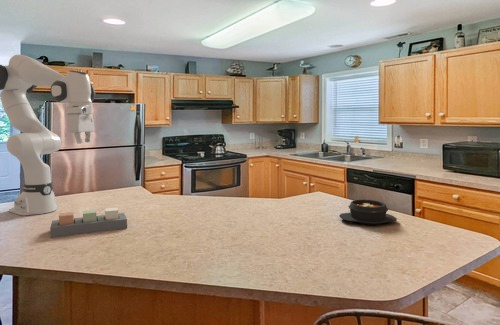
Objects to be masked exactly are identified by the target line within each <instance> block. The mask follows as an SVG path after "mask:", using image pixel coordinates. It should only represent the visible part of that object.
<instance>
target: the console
mask: <svg viewBox="0 0 500 325" xmlns="http://www.w3.org/2000/svg"><path fill="white" fill-rule="evenodd" d="M118 215H119V219H110V220H105V214H100V215H96V217H97V221H93V222H84V223H83V216H82V217H74V224H66V225H59V219H53V220H51V225H50V227H49V231H50V239H55V238H63V237H64V238H65V237H69V236H70V237H71V236H78V235H80V236H81V235H86V234H94V233H101V232H109V231H110V232H111V231H119V230H125V229H128V219H127V216H126V214H125V212H120V213H119V212H118Z"/></svg>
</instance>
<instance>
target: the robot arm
mask: <svg viewBox="0 0 500 325" xmlns="http://www.w3.org/2000/svg"><path fill="white" fill-rule="evenodd" d="M90 80H91V79H90V77H89V74H88V73H87V72H84V71H77V70H68V71H67V72H66V75H65V74H64V73H63V74H62V73H61V72H58V71H57V70H55V69H53V68H51V67H50V66H47V65H46V64H43V63H42V62H41V61H38V60H37V59H35V58H33V57H30V56H28V55H25V54H19V53H18V54H14V55H13V56H11V57H10V59H9V61H8V64H7V65H2V64H0V101H1V105H2V108H3V110H4V112H5V115H6V116H7V118H8V121H9V122H10V124H11V126H12V127H13V128H14V129H15V130H17V131H20V132H21V133H16V134H14V135H10V136H9V137H8V139H7V140H6V149H7V151H8V152H9V154H11V155H12V156H14V157H15V158H16V159H17V160H18V161H19V162H20V164H21V167H22V169H23V175H24V184H22V185H21V186H22V188H23V189H22V192H21V193H20V194H19V195H18V196H17V197H16V198H15V199H14V204H13V205H14V206H13V207H11V208H9V209H8V212H10V213H13V214H15V215H19V216H29V215H31V216H33V215H34V216H35V215H42V214H47V213H51V212H55V211H57V210H58V208H59V205H58V204H57V201H56V196H55V192H54V191H53V189H54V188H53V185H54V184H53V182H52V177H51V176H52V175H51V174H52V173H51V167H50V165H49V164H47V163H46V162H43V160H42V158H41V155H49V154H53V153H56V152H58V151H60V149H61V146H62V139H61V138H60V136H59V135H58V134H56V133H54V132H53V131H51V130H50V129H48V128H47V127H46V126H45V125H44V124H43V123H42V122H41V121H40V120H39V119H38V117H37V114H36V113H35V112H34V110H33V108H32V106H31V104H30V102H29V99H28V98H27V95H26V94H27V93H32V92H33V90H35V89H36V88H37V87H49V88H50V95H51V98H53V100H54V101H55V102H57V103H61V104H68V106H67V107H66V108H65V109H64V111H65V112H64V113H65V114H66V123H67V129H68V132H69V133H71V134H72V133H74V138H75V140H76V141H75V142H76V144H83V139H82V133H84V136H85V138H84V143H91V136H92V132H95V119H94V116H93V114H94V111H93V110H94V109H93V101H94V100H95V97H96V89H95V87H94V86H93V85H92V84H91V81H90Z"/></svg>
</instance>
